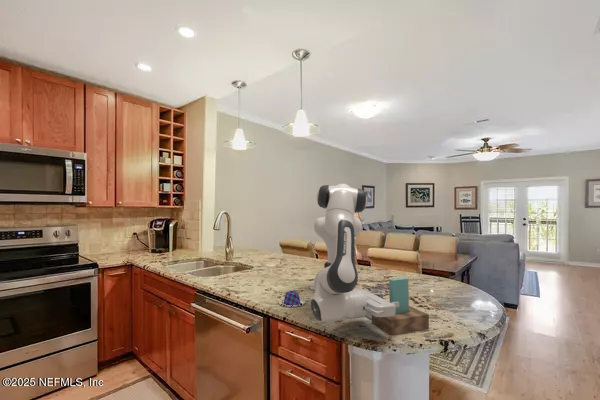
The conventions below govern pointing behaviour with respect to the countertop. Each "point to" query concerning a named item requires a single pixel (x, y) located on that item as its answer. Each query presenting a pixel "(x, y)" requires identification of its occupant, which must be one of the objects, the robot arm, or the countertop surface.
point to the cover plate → (399, 294)
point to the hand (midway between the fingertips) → (389, 299)
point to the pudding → (292, 299)
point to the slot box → (403, 322)
